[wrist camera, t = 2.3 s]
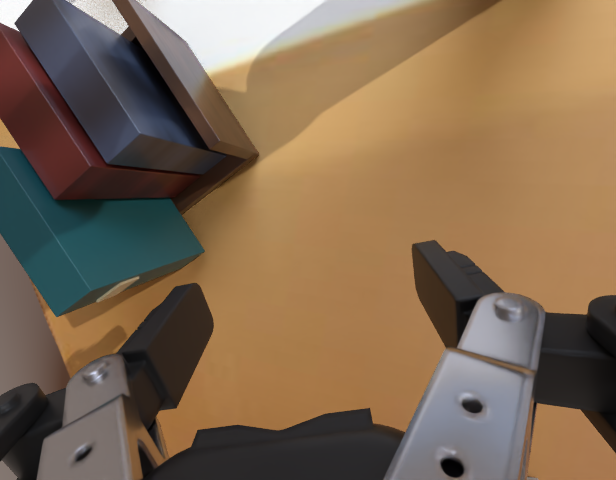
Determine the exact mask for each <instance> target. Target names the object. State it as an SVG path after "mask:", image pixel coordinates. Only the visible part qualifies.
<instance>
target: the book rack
mask: <svg viewBox="0 0 616 480" xmlns="http://www.w3.org/2000/svg"><path fill="white" fill-rule="evenodd" d="M112 1H113V3H114V4H115V6H116V7H117V9H118V10H119V12H120V13H121V15H122V16H123V18H124V19H125V21H126V22H127V24H128V25H129V27H128V28H127V29H126V30H125V31H124V32H123V33H122V34H121V35H120V34H118V33H116V32H115V31H113V30H112V29H110V28H108V27H107V26H105V25H104V24H102V23H101V22H99V21H97V20H96V19H94V18H93V17H91V16H89V15H88V14H86V13H85V12H83V11H81V10H80V9H78V8H77V7H75V6H73V5H72V4H70V3H69V2H67V1H66V0H33V1H32V2H31V3H30V5H29V6H28V7H27V8H26V9H25V11H24V12H23V13H22V14H21V16H20V17H19V18H18V19H17V21H16V22H15V25H16V27H17V28H18V30H19V31H20V32H19V31H17V30H15V29H12V28H10V27H8V26H6V25H4V24H2V23H0V119H1V120H2V122H3V123H4V125H5V126H6V128H7V129H8V131H9V132H10V134H11V135H12V137H13V138H14V140H15V141H16V143H17V144H18V146H19V147H20V149H21V150H22V152H23V153H24V155H25V156H26V158H27V159H28V161H29V162H30V164H31V165H32V167H33V168H34V170H35V171H36V173H37V174H38V176H39V177H40V179H41V180H42V182H43V183H44V185H45V186H46V188H47V189H48V191H49V192H50V194H51V195H52V197H53V198H54V200H72V199H121V198H170V199H171V200H172V202H173V203H174V205H175V206H176V208H177V209H178V211H179V212H180V214H181V215H182V214H183V213H184V212H186V211H187V210H188V209H189V208H191V207H192V206H193V205H195V204H196V203H197V202H199V201H200V200H201V199H202V198H204V197H205V196H206V195H208V194H209V193H210V192H211V191H213V190H214V189H215V188H217V187H218V186H219V185H221V184H222V183H223V182H224V181H226V180H227V179H228V178H230V177H231V176H232V175H233V174H235V173H236V172H237V171H239V170H240V169H241V168H243V167H244V166H245V165H246V164H248V163H249V162H250V161H252V160H253V159H254V158H256V157H257V156H258V155H259V153H258V151H257V150H256V148H255V147H254V145H253V144H252V142H251V141H250V139H249V138H248V136H247V135H246V133H245V131H244V130H243V128H242V127H241V125H240V124H239V122H238V121H237V119H236V118H235V116H234V115H233V113H232V112H231V110H230V108H229V107H228V105H227V104H226V102H225V101H224V99H223V98H222V96H221V95H220V93H219V92H218V90H217V89H216V87H215V85H214V84H213V82H212V81H211V79H210V78H209V76H208V75H207V73H206V72H205V70H204V69H203V67H202V66H201V64H200V62H199V61H198V59H197V58H196V56H195V55H194V53H193V52H192V50H191V49H190V47H189V46H188V44H187V43H186V41H185V40H184V39H182V38H181V37H180V36H179V35H178V34H176V33H175V32H174V31H173V30H171V29H170V28H169V27H168V26H167V25H165V24H164V23H163V22H162V21H160V20H159V19H158V18H157V17H156V16H154V15H153V14H152V13H151V12H149V11H148V10H147V9H146V8H144V7H143V6H142V5H141V4H140V3H138V2H137V1H136V0H112Z"/></svg>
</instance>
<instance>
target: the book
mask: <svg viewBox="0 0 616 480" xmlns="http://www.w3.org/2000/svg"><path fill="white" fill-rule="evenodd" d="M0 234H1V235H2V236H3V238H4V240H5V241H6V243H7V244H8V246H9V247H10V249H11V250H12V252H13V253H14V254H15V256H16V258H17V259H18V261H19V262H20V264H21V265H22V267H23V268H24V270H25V271H26V273H27V274H28V276H29V277H30V279H31V280H32V282H33V283H34V285H35V286H36V287H37V289H38V290H39V292H40V293H41V295H42V296H43V298H44V299H45V301H46V302H47V304H48V305H49V307H50V308H51V310H52V311H53V313H54V314H55V316H56V317H59V316H61V315H64V314H66V313H69V312H71V311H74V310H76V309H79V308H82V307H84V306H87V305H89V304H92V303H94V302H97V303H98V302H100V301H103V300H105V299H108V298H110V297H113V296H115V295H117V294H119V293H120V292H122V291H125V290H127V289H130V288H132V287H135V286H138V285H140V284H143V283H145V282H148V281H150V280H153V279H155V278H158V277H160V276H163V275H166V274H168V273H171V272H173V271H176V270H178V269H181V268H182V267H184V266H185V265H187V264H188V263H189V262H191V261H192V260H194V259H195V258H196V257H198V256H199V255H201V254H202V253H204V252H205V250H204V249H203V247H202V246H201V244H200V243H199V241H198V240H197V238H196V237H195V235H194V234H193V232H192V231H191V229H190V228H189V226H188V225H187V223H186V222H185V220H184V219H183V217H182V215H181V214H180V212H179V211H178V209H177V208H176V206H175V205H174V203H173V202H172V200H171V199H170V198H121V199H72V200H54V198H53V197H52V195H51V194H50V192H49V191H48V189H47V188H46V186H45V185H44V183H43V182H42V180H41V179H40V177H39V176H38V174H37V173H36V171H35V170H34V168H33V167H32V165H31V164H30V162H29V161H28V159H27V158H26V156H25V155H24V153H23V152H22V150H21V149H15V148H7V147H0Z"/></svg>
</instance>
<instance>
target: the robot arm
mask: <svg viewBox="0 0 616 480" xmlns="http://www.w3.org/2000/svg"><path fill="white" fill-rule="evenodd" d="M412 257H413V267H414V278H415V286H416V291H417V294H418V297H419V299H420V301H421V303H422V305H423V307H424V309H425V310H426V312H427V314H428V316H429V318H430V320H431V321H432V323H433V325H434V327H435V329H436V330H437V332H438V334H439V336H440V338H441V339H442V341H443V343H444V345H445V347H446V349H445V351H444V352H443V354H442V357H441V359H440V361H439V363H438V365H437V367H436V369H435V371H434V373H433V376H432V378H431V380H430V382H429V384H428V386H427V388H426V390H425V392H424V395H423V397H422V399H421V401H420V403H419V405H418V407H417V409H416V411H415V413H414V416H413V418H412V420H411V422H410V424H409V426H408V428H407V430H406V432H403V431H400V430H398V429H395V428H392V427H388V426H385V425H380V424H373V422H372V417H371V412H370V408H367V409H359V410H351V411H344V412H336V413H328V414H324V415H321V416H318V417H316V418H313V419H310V420H308V421H305V422H302V423H300V424H297V425H294V426H292V427H289V428H287V429H284V430H279V431H277V430H269V429H262V428H256V427H249V426H242V425H233V426H226V427H218V428H210V429H202V430H197V433H196V436H195V438H194V441H193V444H192V446H191V447H190V448H188V449H186V450H184V451H182V452H180V453H178V454H176V455H174V456H173V457H171V458H169V454H168V451H167V447H166V443H165V440H164V436H163V432H162V429H161V425H160V422H159V421H158V419H157V417H156V416H157V414H158V412H159V411H160V410H167V409H175V408H177V406H178V404H179V402H180V400H181V398H182V396H183V393H184V391H185V389H186V387H187V385H188V383H189V381H190V379H191V377H192V375H193V372H194V370H195V368H196V366H197V364H198V362H199V360H200V358H201V356H202V354H203V352H204V349H205V347H206V345H207V343H208V341H209V339H210V337H211V335H212V332H213V327H214V323H213V317H212V314H211V312H210V310H209V307H208V305H207V302H206V300H205V297H204V295H203V292H202V290H201V287H200V286H199V285H198V284H197V283H192V284H187V285H181V286H176V287H175V288H174V289H173V290H172V291H171V293H170V294H169V295H168V296H167V297H166V299H165V300H164V301H163V302H162V303H161V304H160V305H159V306H157V307H156V308H155V309H153V310H152V311H151V312H150V314H149V315H148V316H147V317H146V318H145V320H144V322H142V323H141V324H140V326H139V327H138V330H135V332H134V333H133V334H132V335H131V336H130V337H129V339H128V340H127V341H126V342H125V343H124V345H123V346H122V347H121V348H120V349H119V351H118V352H117V353H116V354H111V355H106V356H103V357H101V358H98V359H96V360H94V361H92V362H91V363H89V364H87V365H86V366H84V367H83V368H82V369H80V370H79V371H78V372H77V373H76V374H75V375H74V376H73V377H72V378H71V379H70V381H69V382H68V384H67V387H66V388H64V389H61V390H59V391H56V392H53V393H51V394H48V395H45V394H44V393H43V392H42V390H41V389H40V388H39V386H38V385H37V384H35V383H29V384H24V385H21V386H19V387H16V388H14V389H12V390H10V391H8V392H6V393H4V394H2V395H1V396H0V461H1V460H2V461H3V462H4V463H5V464H6V465H7V466H8V467H9V468H10V469H11V470H12V471H13V472H14V474H15V475H16V476H17V477H18V478H17V480H527V474H528V467H529V459H530V452H531V445H532V438H533V431H534V424H535V417H536V410H537V403H540V404H547V405H554V406H561V407H568V408H574V409H581V411H582V412H583V413H584V414H585V416H586V417H587V418H588V419H589V421H590V422H591V423H592V424H593V425H594V427H595V428H596V429H597V430H598V432H599V433H600V434H601V435H602V437H603V438H604V439H605V440H606V442H607V443H608V444H609V445H610V446H611V448H612V449H613V450H614V451H615V453H616V295H610V296H602V297H598V298H596V299H594V300H592V301H591V302H590V303H589V307H588V313H587V315H583V314H561V313H548V312H545V311H544V309H543V307H542V306H541V305H540V304H539V303H537V302H536V301H534V300H532V299H530V298H528V297H525V296H522V295H519V294H514V293H505V292H504V291H503V290H502V289H501V288H500V287H499V286H498V285H497V284H496V283H495V282H493V281H492V280H491V279H490V278H489V277H488V276H487V275H486V274H485V273H484V272H482V270H481V269H480V268H479V267H478V266H475V263H474V262H473V261H471V260H470V259H469V258H468V257H467V256H465V255H463V254H460V253H458V252H456V251H449V252H446V251H445V250H444V249H443V248H442V247H441V246H440V245H439V244H438V243H437V242H436V241H435V240H432V241H426V242H421V243H415V244H413V245H412Z"/></svg>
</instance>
